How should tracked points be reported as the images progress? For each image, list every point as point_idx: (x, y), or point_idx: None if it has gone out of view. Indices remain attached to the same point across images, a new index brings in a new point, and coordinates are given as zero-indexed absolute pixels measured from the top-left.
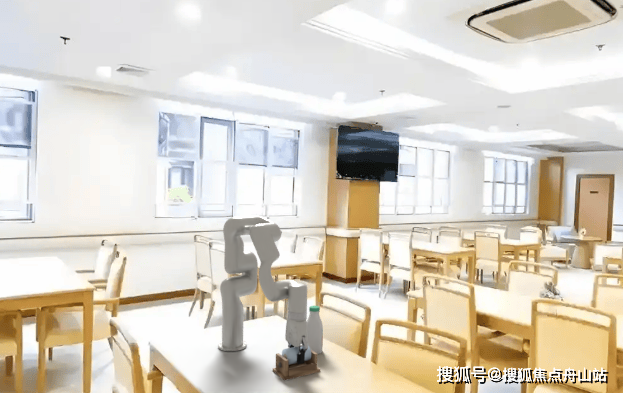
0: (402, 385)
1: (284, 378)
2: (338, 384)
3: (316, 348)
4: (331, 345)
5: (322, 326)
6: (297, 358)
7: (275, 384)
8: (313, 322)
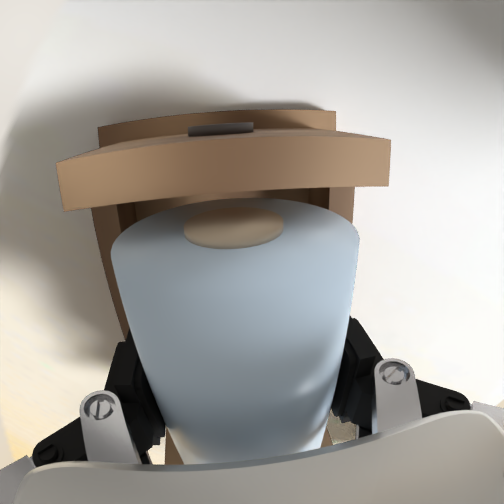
0: None
1: (102, 126)
2: (15, 380)
3: None
4: None
5: None
6: (127, 344)
7: (83, 42)
8: None
